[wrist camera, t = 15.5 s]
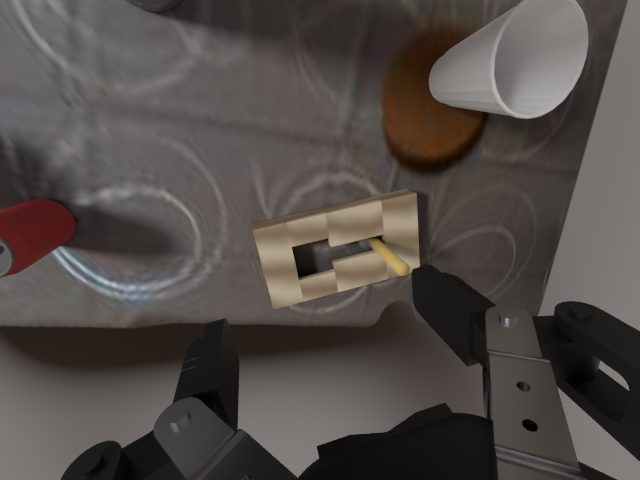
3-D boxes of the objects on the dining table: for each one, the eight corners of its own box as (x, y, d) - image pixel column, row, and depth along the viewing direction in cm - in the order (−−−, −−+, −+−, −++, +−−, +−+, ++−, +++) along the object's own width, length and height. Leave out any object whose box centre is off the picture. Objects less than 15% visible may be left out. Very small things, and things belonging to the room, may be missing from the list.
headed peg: (355, 228, 52) (388, 259, 40) (378, 223, 53) (417, 252, 41) (358, 251, 54) (390, 287, 42) (380, 245, 54) (418, 279, 42)
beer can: (88, 233, 43) (34, 270, 32) (41, 251, 43) (-30, 294, 32) (57, 189, 40) (-13, 213, 30) (7, 208, 40) (-83, 239, 29)
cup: (495, 47, 47) (608, 12, 32) (467, 128, 50) (558, 130, 36) (428, 21, 43) (521, -31, 29) (403, 110, 47) (474, 104, 32)
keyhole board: (252, 223, 48) (252, 230, 45) (406, 188, 52) (416, 193, 48) (272, 298, 53) (273, 309, 50) (410, 262, 57) (419, 270, 54)
